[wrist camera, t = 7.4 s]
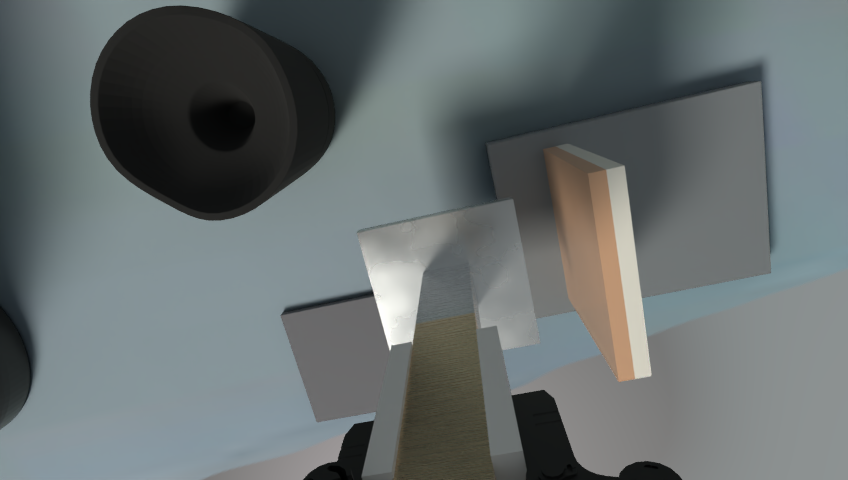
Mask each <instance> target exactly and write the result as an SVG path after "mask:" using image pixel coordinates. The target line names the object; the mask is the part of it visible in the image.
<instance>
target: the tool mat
mask: <svg viewBox="0 0 848 480" xmlns="http://www.w3.org/2000/svg"><path fill="white" fill-rule="evenodd" d="M281 318H282V321H283V324H284V327H285V330H286V333H287V336H288V339H289V342H290V345H291V348H292V351H293V354H294V356H295V359H296V362H297V365H298V368H299V371H300V374H301V377H302V380H303V383H304V386H305V389H306V392H307V395H308V398H309V400H310V403H311V406H312V409H313V412H314V415H315V418H316V421H317V422H322V421H327V420H333V419H338V418H344V417H349V416H355V415H361V414H366V413H372V412H376V411H377V407H378V402H379V398H380V394H381V389H382V385H383V381H384V376H385V372H386V368H387V363H388V359H389V355H390V350H389V346H388V342H387V339H386V335H385V332H384V328H383V325H382V321H381V317H380V314H379V310H378V307H377V303H376V299H375V296H374V294H371V295H366V296H361V297H356V298H352V299H347V300H342V301H337V302H332V303H327V304H322V305H318V306H313V307H308V308H303V309H298V310H293V311H288V312H284V313H282V314H281Z"/></svg>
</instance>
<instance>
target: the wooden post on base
mask: <svg viewBox="0 0 848 480" xmlns="http://www.w3.org/2000/svg"><path fill="white" fill-rule="evenodd" d="M357 235H358V239H359V242H360V246H361V249H362V253H363V257H364V260H365V264H366V267H367V271H368V274H369V278H370V282H371V285H372V289H373V292H374V296H375V299H376V303H377V307H378V310H379V314H380V317H381V321H382V325H383V328H384V332H385V335H386V339H387V342H388V346H389V350H391V346H392V345H397V344H402V343H407V342H412V345H413V348H412V355H411V362H410V369H409V376H408V383H407V390H406V397H405V404H404V411H403V418H402V425H401V431H400V438H399V445H398V452H397V459H396V466H395V473H394V479H393V480H496V476H495V472H494V468H493V463H492V460H491V456H490V447H489V438H488V429H487V421H486V412H485V403H484V395H483V386H482V377H481V368H480V360H479V351H478V342H477V334H476V329H481V328H486V327H491V326H497V329H498V334H499V338H500V343H501V348H502V350H507V349H512V348H517V347H523V346H528V345H534V344H539V343H540V338H539V333H538V328H537V322H536V317H535V312H534V307H533V301H532V296H531V291H530V285H529V280H528V275H527V270H526V264H525V259H524V254H523V248H522V243H521V238H520V233H519V227H518V222H517V217H516V211H515V206H514V201H513V198H512V197H508V198H503V199H498V200H494V201H489V202H485V203H480V204H476V205H471V206H466V207H462V208H457V209H453V210H448V211H443V212H439V213H434V214H430V215H425V216H420V217H416V218H411V219H407V220H402V221H397V222H393V223H388V224H384V225H379V226H375V227H370V228H365V229H361V230H359V231H358V232H357Z"/></svg>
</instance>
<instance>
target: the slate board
mask: <svg viewBox="0 0 848 480" xmlns="http://www.w3.org/2000/svg"><path fill="white" fill-rule="evenodd" d="M485 144H486V149H487V154H488V159H489V164H490V169H491V174H492V179H493V184H494V189H495V194H496V199H497V200H498V199H503V198H508V197H512V198H513V201H514V206H515V211H516V217H517V222H518V227H519V233H520V238H521V243H522V248H523V254H524V259H525V264H526V270H527V275H528V280H529V285H530V291H531V296H532V301H533V307H534V312H535V317H536V318H541V317H547V316H552V315H557V314H562V313H567V312H572V311H576V310H575V308H574V307H573V305H572V303H571V302H570V300H569V298H568V292H567V287H566V281H565V275H564V269H563V263H562V257H561V251H560V246H559V240H558V234H557V228H556V222H555V216H554V210H553V204H552V199H551V193H550V187H549V181H548V175H547V169H546V163H545V158H544V152H543V149H546V148H550V147H554V146H559V145H563V144H571V145H573V146H576V147H578V148H581V149H583V150H586V151H589V152H591V153H594V154H596V155H599V156H601V157H604V158H607V159H609V160H612V161H614V162H617V163H619V164H622V165H625V173H626V180H627V188H628V196H629V204H630V212H631V219H632V227H633V235H634V243H635V251H636V258H637V266H638V274H639V282H640V290H641V297H642V298H645V297H650V296H655V295H660V294H665V293H671V292H676V291H681V290H686V289H691V288H696V287H702V286H707V285H712V284H717V283H722V282H727V281H733V280H738V279H743V278H748V277H753V276H758V275H764V274H769V273H771V262H770V243H769V223H768V204H767V185H766V166H765V147H764V127H763V108H762V89H761V81H756V82H744V83H739V84H735V85H731V86H727V87H722V88H718V89H714V90H710V91H705V92H701V93H697V94H692V95H688V96H684V97H680V98H675V99H671V100H667V101H663V102H658V103H654V104H650V105H645V106H641V107H637V108H633V109H628V110H624V111H620V112H616V113H611V114H607V115H603V116H598V117H594V118H590V119H586V120H581V121H577V122H573V123H569V124H564V125H560V126H556V127H551V128H547V129H543V130H539V131H534V132H530V133H526V134H522V135H517V136H513V137H509V138H504V139H500V140H496V141H492V142H487V143H485Z"/></svg>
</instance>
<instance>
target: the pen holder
mask: <svg viewBox="0 0 848 480" xmlns="http://www.w3.org/2000/svg"><path fill="white" fill-rule="evenodd" d="M90 107H91V115H92V121H93V125H94V129H95V133H96V136H97V139H98V141H99V144H100V146H101V148H102V150H103V151H104V153H105V155H106V157H107V158H108V160H109V161H110V162H111V164H112V165H113V166H114V167H115V168H116V170H117V171H118V172H119V173H121V174H122V175H123V176H124V177H125V178H126V179H127V180H129V181H130V182H131V183H133V184H134V185H136V186H137V187H138V188H140V189H141V190H143V191H145V192H146V193H148V194H150V195H151V196H153V197H155V198H157V199H158V200H160V201H162V202H164V203H166V204H168V205H170V206H171V207H173V208H175V209H177V210H179V211H181V212H183V213H185V214H187V215H190V216H193V217H196V218H199V219H204V220H225V219H231V218H234V217H237V216H240V215H243V214H245V213H247V212H249V211H251V210H253V209H255V208H257V207H258V206H259V205H261V204H262V203H264V202H265V201H267V200H268V199H269V198H271V197H272V196H274V195H275V194H276V193H278V192H279V191H281V190H282V189H284V188H285V187H286V186H288V185H289V184H291V183H292V182H293V181H295V180H296V179H298V178H299V177H301V176H302V175H303V174H304V173H306V172H307V171H308V170H309V169H311V168H312V167H313V166H314V165H315V164H316V163H317V162H318V161H319V160H320V158H321V157H322V156H323V155H324V153H325V151H326V150H327V148H328V146H329V143H330V141H331V138H332V135H333V131H334V125H335V108H334V102H333V97H332V94H331V91H330V88H329V86H328V84H327V82H326V80H325V78H324V76H323V75H322V73H321V72H320V70H319V69H318V68H317V67H316V65H315V64H314V63H313V62H312V61H311V60H310V59H309V58H308V57H306V56H305V55H304V54H303V53H301V52H300V51H298V50H297V49H295V48H293V47H292V46H290V45H288V44H286V43H284V42H282V41H280V40H278V39H276V38H274V37H272V36H270V35H268V34H266V33H264V32H262V31H260V30H258V29H255V28H253V27H251V26H249V25H247V24H245V23H243V22H241V21H239V20H237V19H235V18H232V17H230V16H227V15H224V14H221V13H219V12H216V11H212V10H208V9H203V8H199V7H190V6H165V7H161V8H156V9H152V10H149V11H146V12H144V13H141V14H139V15H137V16H136V17H134V18H132V19H131V20H129V21H127V22H126V23H125V24H124V25H123V26H122V27H120V28H119V29H118V30H117V31H116V32H115V33H114V35H113V36H112V37H111V38H110V39H109V40H108V42H107V44H106V45H105V47H104V48H103V50H102V52H101V54H100V56H99V58H98V61H97V63H96V66H95V69H94V73H93V77H92V83H91V91H90Z"/></svg>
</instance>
